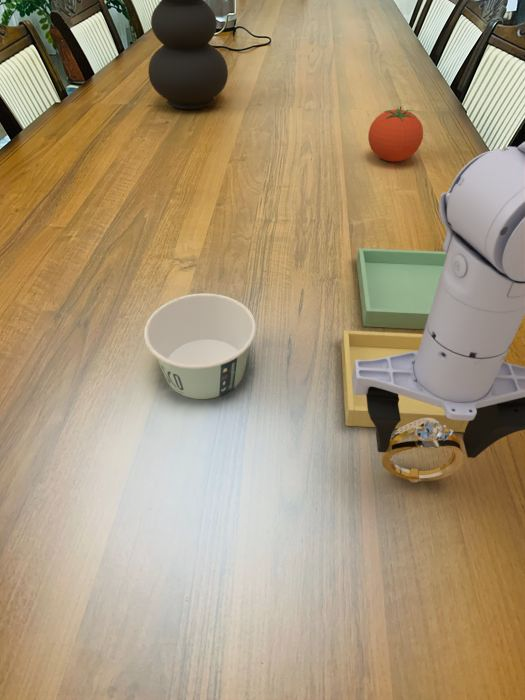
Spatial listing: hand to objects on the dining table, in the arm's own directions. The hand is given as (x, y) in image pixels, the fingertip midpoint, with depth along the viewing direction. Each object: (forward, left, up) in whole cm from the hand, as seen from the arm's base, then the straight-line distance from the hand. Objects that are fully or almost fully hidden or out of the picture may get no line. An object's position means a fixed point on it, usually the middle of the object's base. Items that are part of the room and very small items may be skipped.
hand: (424, 445), depth 45 cm
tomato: (-6, -73, -6) cm, 73 cm away
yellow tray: (0, -12, -5) cm, 13 cm away
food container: (+22, -13, -6) cm, 26 cm away
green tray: (-4, -29, -5) cm, 30 cm away
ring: (0, 0, -6) cm, 6 cm away
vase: (+39, -102, -6) cm, 109 cm away
